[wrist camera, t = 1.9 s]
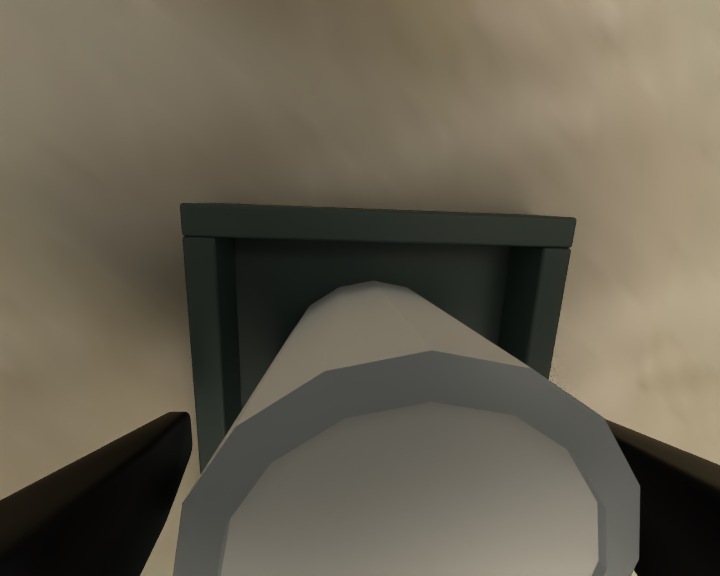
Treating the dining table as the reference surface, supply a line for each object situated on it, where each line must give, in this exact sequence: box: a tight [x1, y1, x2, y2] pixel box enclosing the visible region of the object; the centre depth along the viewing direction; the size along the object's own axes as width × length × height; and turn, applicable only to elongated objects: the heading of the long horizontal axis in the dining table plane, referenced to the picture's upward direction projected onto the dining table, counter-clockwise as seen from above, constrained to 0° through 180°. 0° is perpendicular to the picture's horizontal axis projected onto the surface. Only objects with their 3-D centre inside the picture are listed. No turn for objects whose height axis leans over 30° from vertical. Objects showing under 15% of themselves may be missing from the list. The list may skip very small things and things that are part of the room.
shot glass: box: [173, 281, 640, 576], centre depth 8 cm, size 7×7×7 cm
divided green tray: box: [180, 203, 576, 473], centre depth 12 cm, size 19×10×2 cm, turn 178°
